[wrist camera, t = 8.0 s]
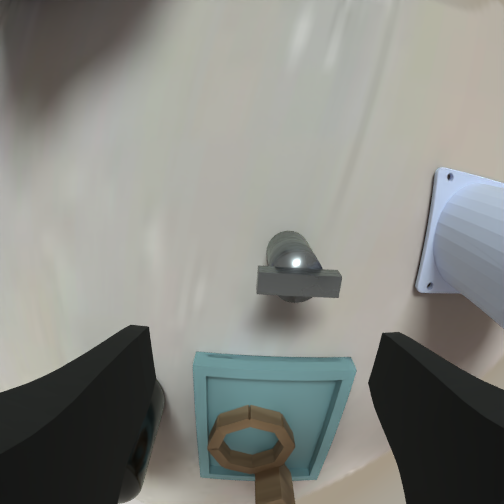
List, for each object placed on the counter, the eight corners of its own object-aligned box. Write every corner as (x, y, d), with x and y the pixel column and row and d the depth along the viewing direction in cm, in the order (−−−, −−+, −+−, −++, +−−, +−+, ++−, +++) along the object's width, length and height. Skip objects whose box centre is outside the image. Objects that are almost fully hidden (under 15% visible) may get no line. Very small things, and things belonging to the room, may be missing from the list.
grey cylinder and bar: (321, 233, 18) (344, 261, 13) (316, 273, 18) (335, 311, 14) (257, 228, 18) (259, 256, 13) (254, 269, 18) (255, 308, 14)
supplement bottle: (153, 428, 23) (118, 549, 11) (80, 392, 22) (19, 501, 10) (179, 378, 21) (139, 528, 9) (93, 335, 20) (6, 460, 8)
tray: (350, 357, 20) (356, 370, 19) (314, 467, 24) (316, 479, 23) (196, 351, 20) (192, 365, 19) (202, 464, 24) (200, 477, 23)
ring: (197, 420, 21) (188, 467, 16) (272, 396, 21) (277, 444, 16) (248, 484, 23) (248, 526, 18) (312, 465, 22) (321, 508, 17)
